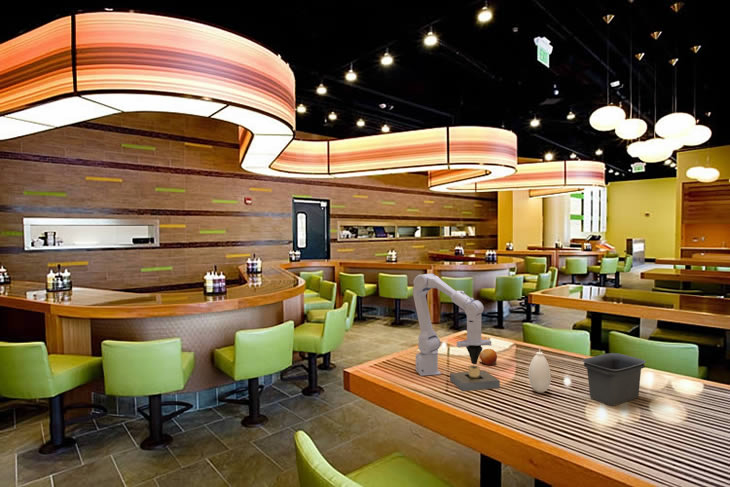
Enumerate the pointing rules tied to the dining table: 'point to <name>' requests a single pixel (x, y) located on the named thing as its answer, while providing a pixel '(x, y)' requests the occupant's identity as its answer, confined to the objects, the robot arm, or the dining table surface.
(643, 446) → the dining table surface
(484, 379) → the jig
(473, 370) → the bushing
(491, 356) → the fruit
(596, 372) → the storage bin
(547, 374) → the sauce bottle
